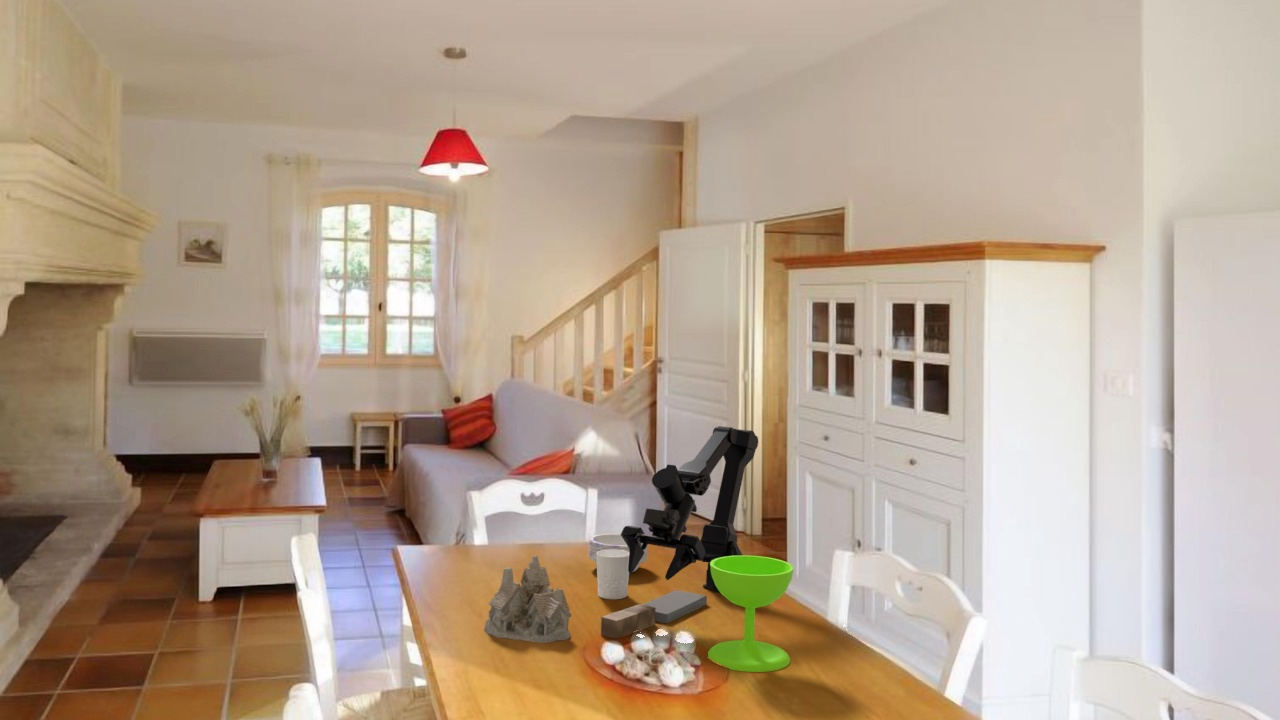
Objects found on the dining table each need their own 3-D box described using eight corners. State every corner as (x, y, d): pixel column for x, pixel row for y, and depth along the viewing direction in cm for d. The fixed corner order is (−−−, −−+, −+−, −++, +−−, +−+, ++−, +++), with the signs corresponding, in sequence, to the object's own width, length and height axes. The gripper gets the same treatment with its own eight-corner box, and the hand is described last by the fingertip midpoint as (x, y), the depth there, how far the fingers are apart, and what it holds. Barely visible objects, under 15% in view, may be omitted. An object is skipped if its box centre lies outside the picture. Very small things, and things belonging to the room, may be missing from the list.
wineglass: (695, 663, 193) (698, 569, 192) (721, 639, 208) (724, 552, 207) (778, 677, 187) (781, 579, 186) (798, 651, 202) (802, 561, 201)
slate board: (676, 598, 237) (676, 590, 237) (706, 604, 233) (706, 595, 233) (635, 616, 222) (635, 607, 222) (667, 623, 218) (667, 614, 218)
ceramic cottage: (478, 624, 213) (484, 553, 212) (553, 619, 220) (559, 551, 219) (499, 652, 199) (505, 576, 198) (578, 646, 206) (584, 573, 204)
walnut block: (640, 603, 219) (601, 616, 209) (655, 607, 216) (616, 620, 206) (640, 622, 219) (600, 636, 209) (654, 626, 217) (616, 640, 206)
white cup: (625, 601, 233) (626, 558, 233) (591, 598, 235) (593, 555, 235) (632, 592, 241) (633, 550, 241) (600, 590, 243) (601, 548, 242)
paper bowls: (658, 568, 265) (659, 538, 265) (626, 580, 252) (627, 548, 252) (609, 559, 273) (610, 530, 273) (576, 570, 261) (577, 539, 260)
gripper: (626, 489, 226) (597, 547, 217) (700, 499, 217) (673, 560, 208) (643, 519, 233) (616, 576, 225) (716, 529, 224) (690, 590, 215)
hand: (647, 575), depth 218 cm, fingers open, 9 cm apart
